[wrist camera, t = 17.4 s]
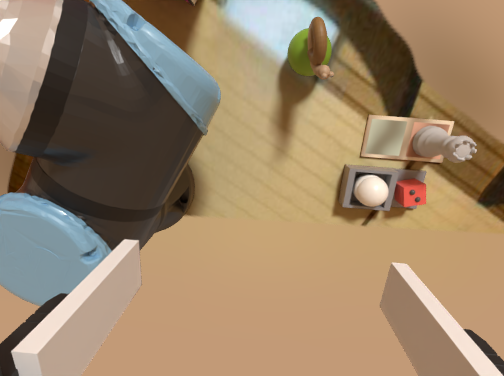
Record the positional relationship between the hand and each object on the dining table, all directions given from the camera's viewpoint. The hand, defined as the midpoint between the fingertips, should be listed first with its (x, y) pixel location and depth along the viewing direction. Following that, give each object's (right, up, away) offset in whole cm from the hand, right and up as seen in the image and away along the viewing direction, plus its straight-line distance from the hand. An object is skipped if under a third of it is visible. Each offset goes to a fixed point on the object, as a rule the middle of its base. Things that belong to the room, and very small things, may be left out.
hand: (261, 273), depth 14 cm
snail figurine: (+7, +22, +23) cm, 33 cm away
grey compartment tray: (+19, +5, +28) cm, 34 cm away
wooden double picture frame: (+22, +12, +25) cm, 36 cm away
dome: (+17, +5, +27) cm, 32 cm away
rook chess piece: (+25, +11, +25) cm, 37 cm away
